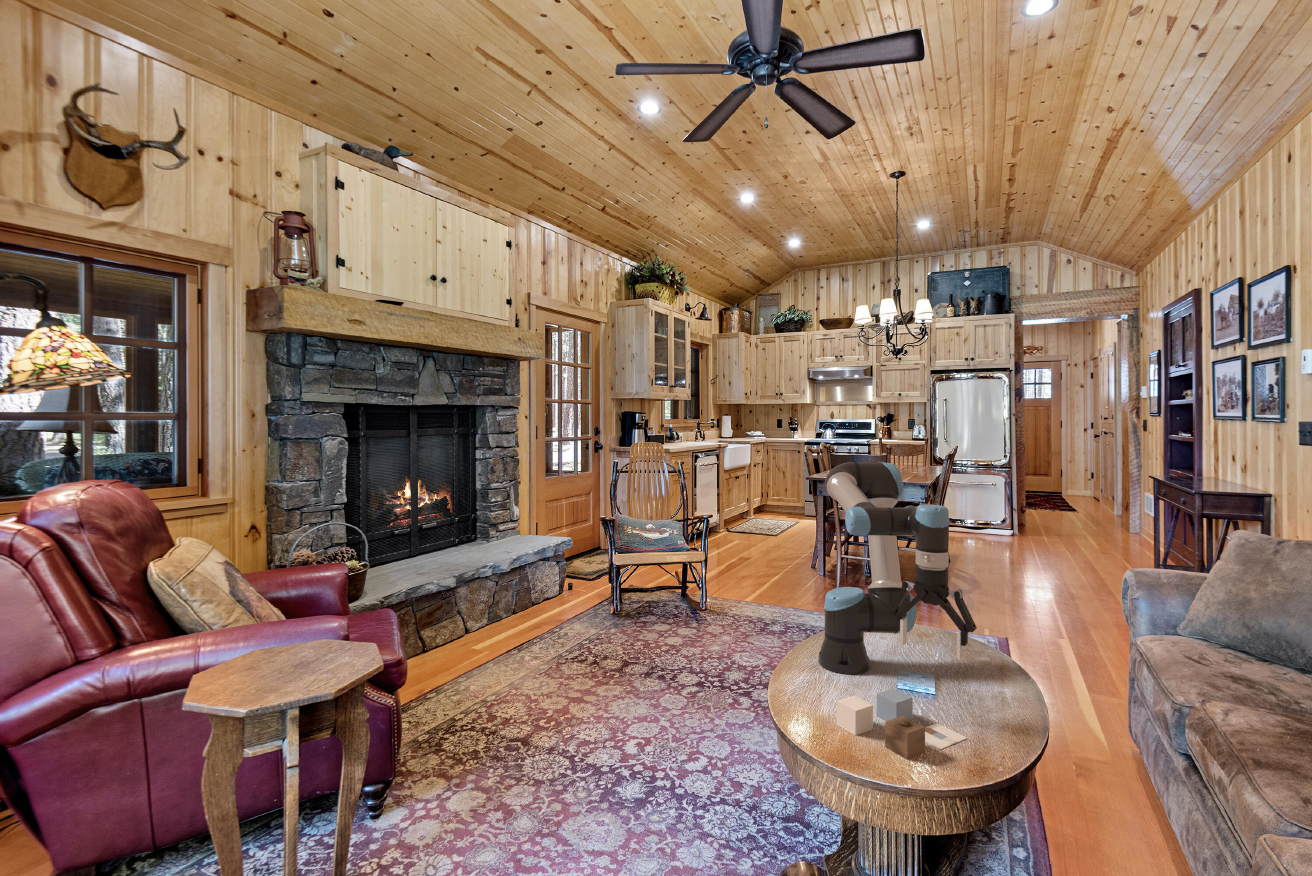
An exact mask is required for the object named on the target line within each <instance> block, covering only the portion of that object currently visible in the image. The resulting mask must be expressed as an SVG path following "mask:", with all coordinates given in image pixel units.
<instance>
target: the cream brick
mask: <svg viewBox="0 0 1312 876" xmlns="http://www.w3.org/2000/svg"><path fill="white" fill-rule="evenodd" d="M836 725H837V727H841V728H842V729H844V730H846V731H847V732H848V733H851V734H852V735H853V736H859V735H861V734H863V733H867V732H868V731H872V730H873V729H874V727H873V726H874V705H873V704H872V703H870V702H867V701H865V700H863V699H861V698H859V697H858V696H856V695H852V696H849V697H845V698H841V699H839V700H836Z"/></svg>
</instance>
